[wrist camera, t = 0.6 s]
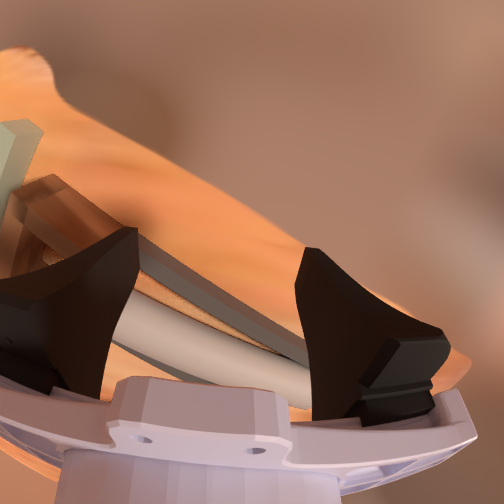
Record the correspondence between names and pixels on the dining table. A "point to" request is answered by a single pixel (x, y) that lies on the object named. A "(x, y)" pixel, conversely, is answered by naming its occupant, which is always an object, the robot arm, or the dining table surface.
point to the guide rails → (213, 309)
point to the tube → (208, 351)
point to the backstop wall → (15, 156)
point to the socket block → (48, 225)
